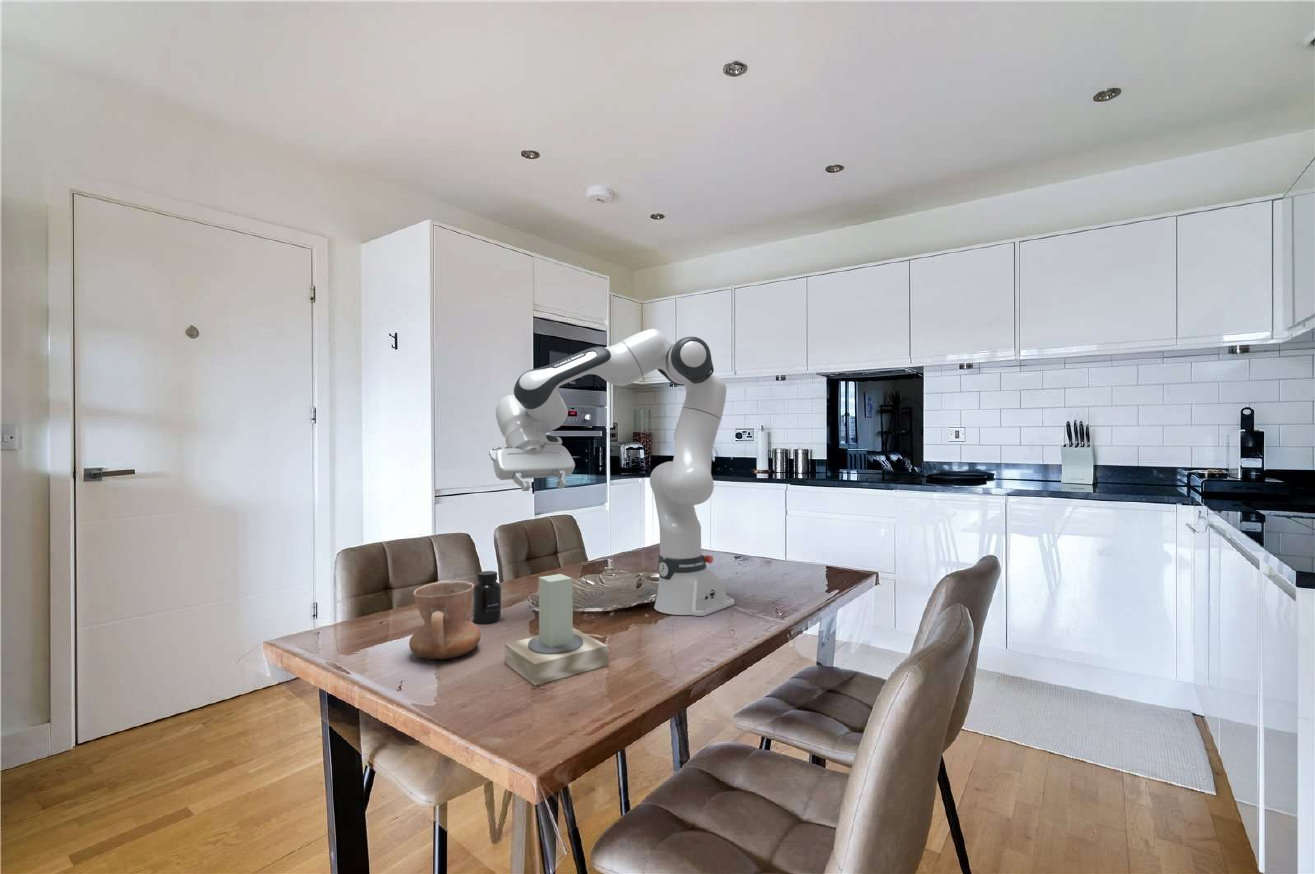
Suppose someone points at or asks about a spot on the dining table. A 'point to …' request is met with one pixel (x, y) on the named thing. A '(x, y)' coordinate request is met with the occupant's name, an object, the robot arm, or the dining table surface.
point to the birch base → (555, 657)
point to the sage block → (555, 610)
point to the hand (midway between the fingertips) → (544, 488)
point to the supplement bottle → (487, 598)
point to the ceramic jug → (444, 620)
